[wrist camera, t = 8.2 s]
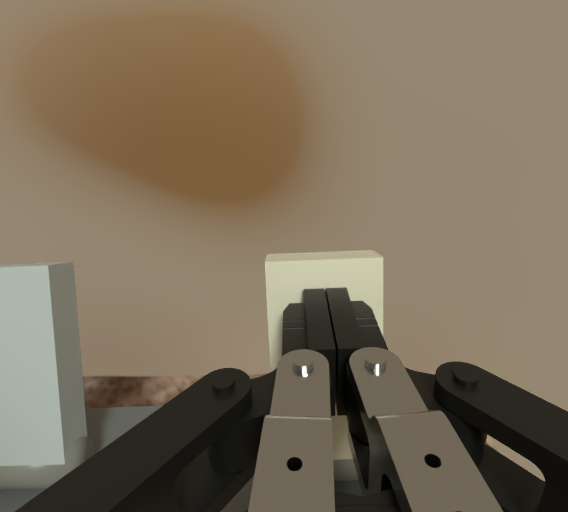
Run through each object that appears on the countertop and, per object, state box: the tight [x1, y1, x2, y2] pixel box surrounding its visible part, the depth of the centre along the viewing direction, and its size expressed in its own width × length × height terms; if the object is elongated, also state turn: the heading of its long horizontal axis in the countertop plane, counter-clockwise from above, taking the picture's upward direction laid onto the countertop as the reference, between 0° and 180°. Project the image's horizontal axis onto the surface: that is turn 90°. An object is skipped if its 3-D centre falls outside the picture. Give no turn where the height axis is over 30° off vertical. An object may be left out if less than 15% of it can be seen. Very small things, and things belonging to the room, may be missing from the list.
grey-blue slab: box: [0, 262, 94, 490], centre depth 15 cm, size 4×2×9 cm, turn 90°
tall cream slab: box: [265, 250, 383, 481], centre depth 14 cm, size 4×2×9 cm, turn 90°
